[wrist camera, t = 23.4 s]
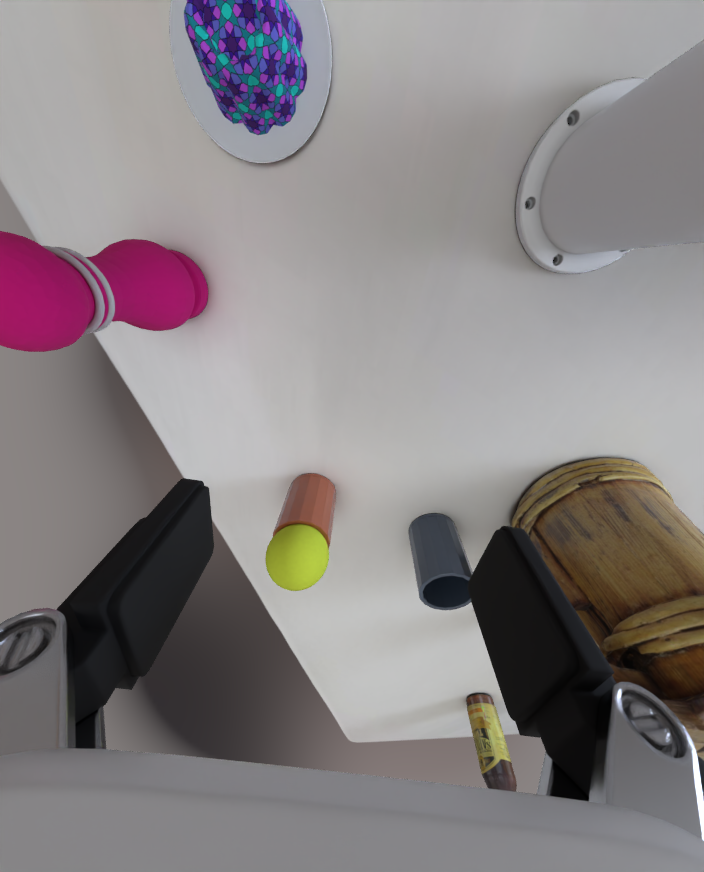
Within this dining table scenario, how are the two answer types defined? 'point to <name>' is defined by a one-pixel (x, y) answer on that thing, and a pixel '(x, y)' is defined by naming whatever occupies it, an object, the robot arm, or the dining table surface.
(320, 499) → the terracotta cup
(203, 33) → the pudding
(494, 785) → the sauce bottle
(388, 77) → the dining table surface
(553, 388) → the dining table surface
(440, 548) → the grey cup
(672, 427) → the dining table surface
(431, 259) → the dining table surface
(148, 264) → the pepper mill
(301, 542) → the ball
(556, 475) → the tankard
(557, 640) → the robot arm
